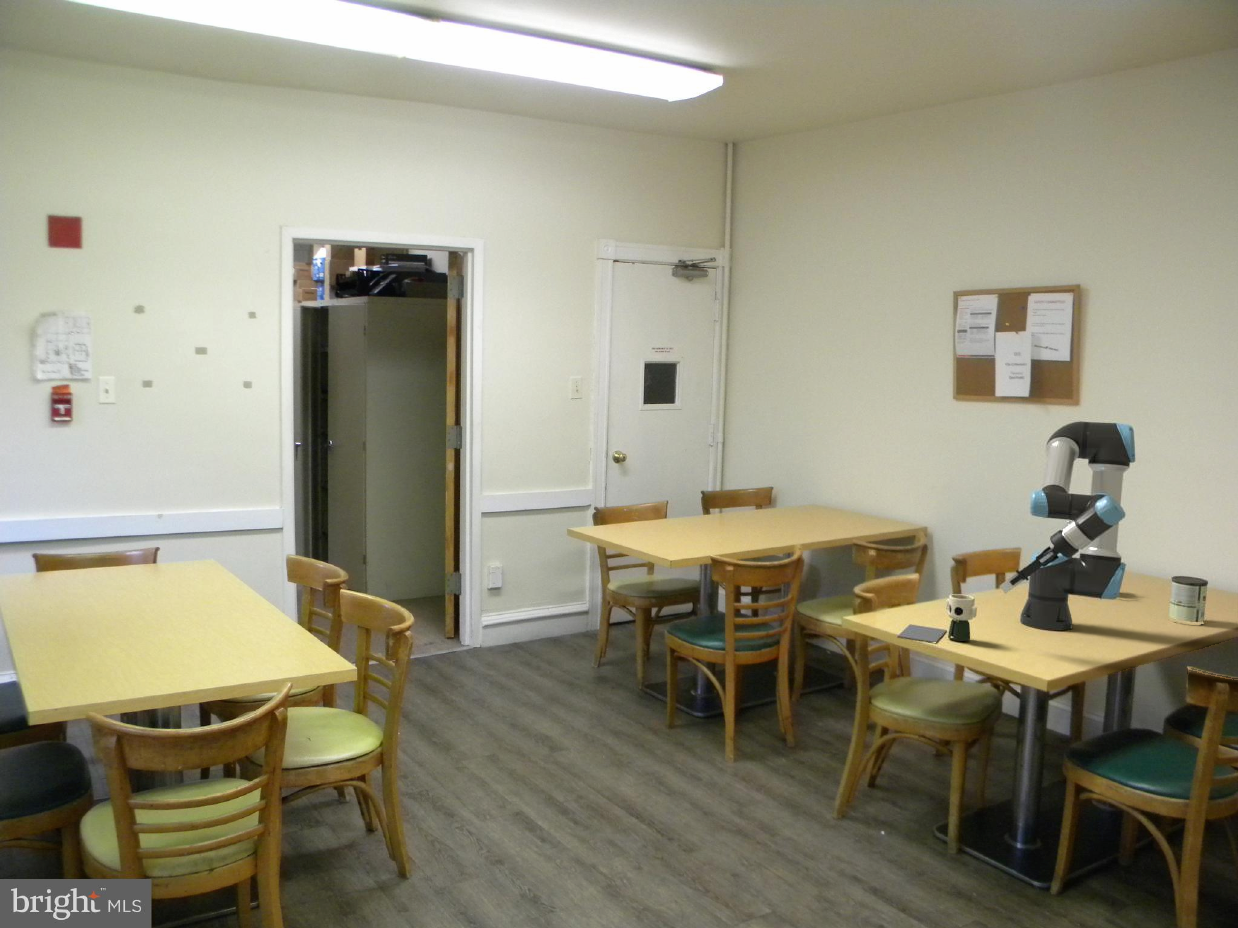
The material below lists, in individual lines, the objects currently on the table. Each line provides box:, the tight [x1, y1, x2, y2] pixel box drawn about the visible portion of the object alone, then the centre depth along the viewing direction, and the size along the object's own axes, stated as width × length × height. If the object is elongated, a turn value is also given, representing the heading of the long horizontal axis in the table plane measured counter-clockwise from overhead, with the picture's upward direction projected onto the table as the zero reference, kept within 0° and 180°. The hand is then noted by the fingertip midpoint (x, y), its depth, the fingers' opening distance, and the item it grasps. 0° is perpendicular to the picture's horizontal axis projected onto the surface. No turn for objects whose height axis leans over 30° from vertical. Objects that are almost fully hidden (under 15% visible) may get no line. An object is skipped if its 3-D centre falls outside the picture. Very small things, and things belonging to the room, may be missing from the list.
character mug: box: [945, 593, 978, 642], centre depth 296 cm, size 11×7×13 cm, turn 30°
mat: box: [897, 623, 948, 643], centre depth 301 cm, size 11×16×1 cm
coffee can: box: [1168, 575, 1209, 622], centre depth 328 cm, size 10×10×14 cm
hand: (1002, 589), depth 289 cm, fingers closed
